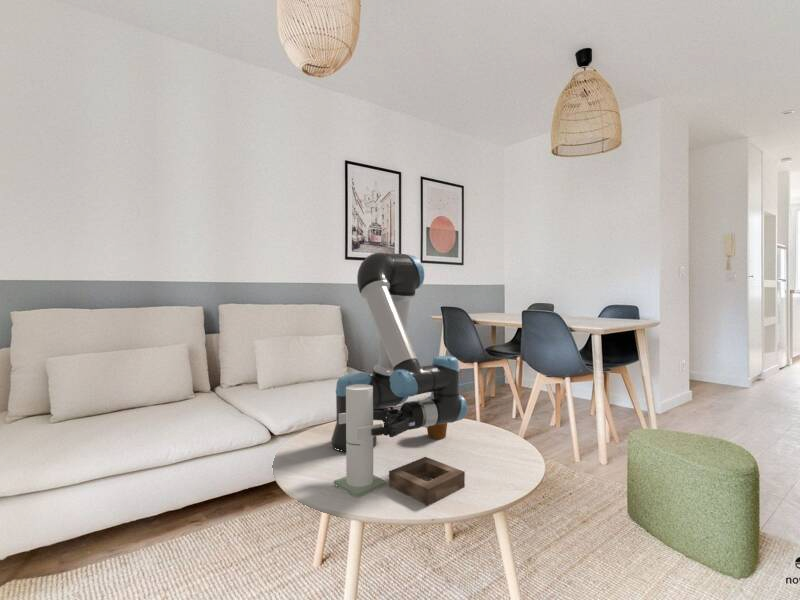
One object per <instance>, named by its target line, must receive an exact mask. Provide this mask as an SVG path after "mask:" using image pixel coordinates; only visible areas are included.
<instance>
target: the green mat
mask: <svg viewBox="0 0 800 600" xmlns="http://www.w3.org/2000/svg"><path fill="white" fill-rule="evenodd" d="M334 484H335V485H337V486H338V487H337V486H336V487H337V488H339V487H340V488H341V490H342V489H343V490H342V491H344V490H345V491H344V492H346V491H347V492H348V494H349V495H351V496H353V497H354V496H355V498H360V497H362V496H364V495H366V494H369V493H371V492H374V491H376V490H378V489H381V488H383V487H385V486H387V480H384V479H383V478H381V477H379V476H376V475H374V474H373V483H372V484H370V485H368V486H364V487H353V486H350V485H348V484H347V482H346V475H345V476H343V477H340V478H338V479H335V480H333V485H334ZM335 485H334V486H335ZM340 488H339V489H340ZM347 492H346V493H347ZM359 496H360V497H359Z"/></svg>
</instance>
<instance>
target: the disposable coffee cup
mask: <svg viewBox="0 0 800 600" xmlns="http://www.w3.org/2000/svg"><path fill="white" fill-rule="evenodd" d="M447 428H448V423H444V424H437V425H432V426H428V428H426V430H427V437H428V438H430V439H432V440H433V439H434V440H442V439H445V438H446V437H447V430H448V429H447Z"/></svg>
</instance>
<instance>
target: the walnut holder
mask: <svg viewBox="0 0 800 600" xmlns="http://www.w3.org/2000/svg"><path fill="white" fill-rule="evenodd" d="M465 474H466V473H465V471H463V470H461V469H459V468H455V467H453V466H451V465H448V464H445V463H443V462H440V461H437V460H436V459H432V458H430V457H427V456H424V457H421V458H419V459H417V460H414V461H411V462H408V463H406V464H404V465H401V466H398V467H396V468H393V469H391V470H389V471H388V481H389V482H388V487H390V488H392V489H393V490H395V491H398V492H400V493H402V494H404V495H405V496H408V497H410V498H412V499H414V500H417V501H418V502H419V503H421V504H424V505H426V506H430V505H432V504H434V503H436V502H438V501H440V500H442V499H444V498H446V497H448V496H450V495H451V494H454V493H455V492H457V491H459V490H461V489H463V488H465V485H466V483H465V481H466V480H465V479H466V477H465V476H466V475H465ZM423 478H429V479H431V480H428V481H427V480H424V479H423Z"/></svg>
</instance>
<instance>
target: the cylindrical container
mask: <svg viewBox="0 0 800 600" xmlns="http://www.w3.org/2000/svg"><path fill="white" fill-rule="evenodd" d="M370 425H374V420H373V386H372V385H367V384H354V385H349V386H347V387H346V452H345V455H346V456H345V458H346V459H345V461H346V463H345V464H346V470H345V471H346V474H345V476H346V482H347V484H348V485H350V486H353V487H364V486H368V485H370V484H372V483H373V475H374V447H373V437H369V438H364V439H358V427H364V426H370Z"/></svg>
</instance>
